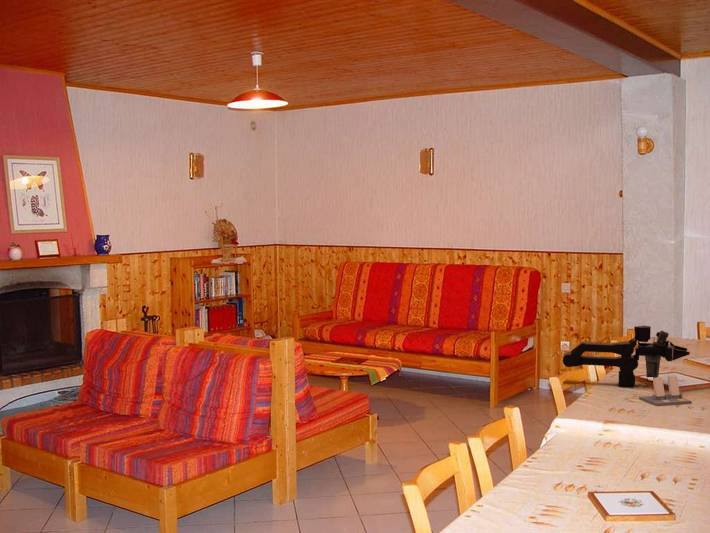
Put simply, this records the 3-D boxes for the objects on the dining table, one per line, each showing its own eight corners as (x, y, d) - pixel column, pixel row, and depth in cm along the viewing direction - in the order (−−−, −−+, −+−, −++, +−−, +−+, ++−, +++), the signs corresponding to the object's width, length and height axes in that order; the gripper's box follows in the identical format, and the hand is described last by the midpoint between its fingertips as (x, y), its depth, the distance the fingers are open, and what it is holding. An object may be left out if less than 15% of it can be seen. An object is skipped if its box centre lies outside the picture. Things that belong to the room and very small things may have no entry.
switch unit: (639, 399, 340) (639, 392, 339) (673, 396, 343) (673, 389, 343) (656, 406, 328) (656, 398, 328) (691, 403, 332) (691, 396, 332)
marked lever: (669, 397, 337) (667, 377, 338) (678, 396, 338) (675, 376, 339) (671, 397, 335) (669, 376, 337) (680, 396, 336) (677, 376, 338)
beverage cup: (658, 379, 378) (659, 336, 377) (662, 382, 371) (663, 338, 369) (642, 379, 379) (643, 335, 377) (646, 382, 372) (647, 338, 370)
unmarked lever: (654, 398, 335) (652, 377, 337) (663, 397, 336) (660, 377, 337) (656, 398, 334) (654, 377, 335) (665, 397, 335) (662, 377, 336)
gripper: (652, 334, 351) (691, 336, 347) (649, 328, 369) (686, 329, 365) (651, 360, 352) (690, 362, 348) (648, 353, 370) (685, 354, 366)
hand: (688, 351), depth 357 cm, fingers open, 9 cm apart
